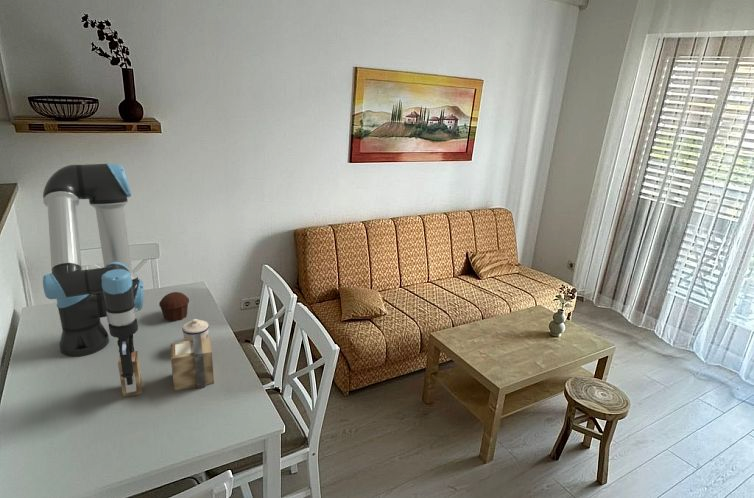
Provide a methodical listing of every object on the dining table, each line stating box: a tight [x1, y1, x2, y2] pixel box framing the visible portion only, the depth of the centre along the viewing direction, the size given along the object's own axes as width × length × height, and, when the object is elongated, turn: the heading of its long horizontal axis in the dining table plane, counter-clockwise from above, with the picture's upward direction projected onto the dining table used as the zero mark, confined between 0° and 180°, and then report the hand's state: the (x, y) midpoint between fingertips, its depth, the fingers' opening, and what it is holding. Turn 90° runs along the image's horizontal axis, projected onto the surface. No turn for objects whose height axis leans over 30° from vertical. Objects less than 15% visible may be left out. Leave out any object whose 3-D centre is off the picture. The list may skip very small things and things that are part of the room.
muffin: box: [158, 291, 190, 322], centre depth 187 cm, size 12×11×10 cm
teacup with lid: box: [181, 318, 210, 342], centre depth 167 cm, size 12×9×12 cm
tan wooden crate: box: [170, 334, 215, 391], centre depth 149 cm, size 12×12×13 cm
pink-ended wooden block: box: [117, 350, 143, 398], centre depth 142 cm, size 5×6×12 cm
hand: (132, 384), depth 143 cm, fingers closed on pink-ended wooden block, 6 cm apart
